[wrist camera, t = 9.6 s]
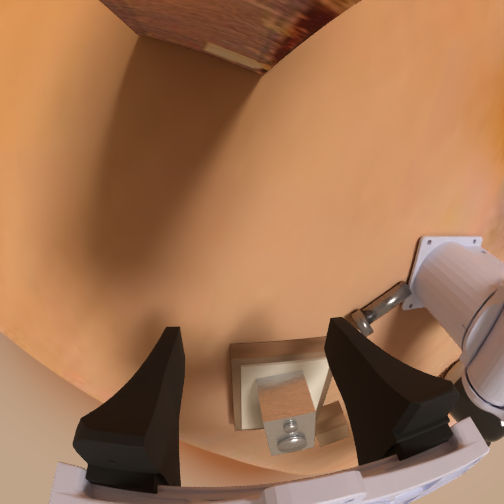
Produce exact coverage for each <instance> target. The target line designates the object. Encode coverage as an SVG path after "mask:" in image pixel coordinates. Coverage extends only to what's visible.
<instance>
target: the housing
mask: <svg viewBox="0 0 504 504" xmlns="http://www.w3.org/2000/svg"><path fill="white" fill-rule="evenodd" d="M256 383H257V389H258V395H259V401H260V407H261V413H262V419H263V424H264V429H265V433H266V437H267V441H268V445H269V449H270V453H271V456H274V455H280V454H285V453H290V452H295V451H300V450H304V449H309V448H313V447H314V437H315V417H316V411H315V408H314V404H313V401H312V398H311V395H310V392H309V389H308V385H307V382H306V379H305V376H304V373H303V370H298V371H293V372H288V373H283V374H278V375H273V376H268V377H262V378H256Z"/></svg>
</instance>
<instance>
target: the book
mask: <svg viewBox="0 0 504 504" xmlns="http://www.w3.org/2000/svg"><path fill="white" fill-rule="evenodd" d="M100 1H101V2H102V3H103V4H104V5H105V6H106V7H108V8H109V9H110V10H111V11H112V12H113V13H114V14H115V15H117V16H118V17H119V18H120V19H121V20H122V21H123V22H124V23H125V24H126V25H128V26H129V27H130V28H131V29H132V30H133V31H134V32H135V33H136V34H137V35H142V36H146V37H150V38H154V39H158V40H162V41H166V42H169V43H173V44H177V45H180V46H183V47H187V48H190V49H193V50H196V51H199V52H202V53H205V54H208V55H211V56H214V57H217V58H220V59H223V60H225V61H228V62H231V63H233V64H236V65H238V66H241V67H244V68H246V69H248V70H251V71H253V72H256V73H258V74H260V75H264V74H265V73H266V72H268V71H269V70H270V69H271V68H272V67H273V66H275V65H276V64H277V63H278V62H279V61H280V60H282V59H283V58H284V57H285V56H286V55H288V54H289V53H290V52H291V51H292V50H294V49H295V48H296V47H297V46H299V45H300V44H301V43H302V42H304V41H305V40H306V39H308V38H309V37H310V36H311V35H313V34H314V33H315V32H317V31H318V30H319V29H321V28H322V27H323V26H325V25H326V24H327V23H329V22H330V21H332V20H333V19H334V18H336V17H337V16H339V15H340V14H341V13H343V12H344V11H346V10H347V9H349V8H350V7H352V6H353V5H355V4H356V3H358V2H359V1H361V0H100Z"/></svg>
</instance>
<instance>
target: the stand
mask: <svg viewBox="0 0 504 504" xmlns="http://www.w3.org/2000/svg"><path fill="white" fill-rule="evenodd" d="M326 337H327V336H325V337H317V338H307V339H297V340H286V341H273V342H259V343H242V344H230V350H231V373H232V394H233V413H234V426H235V431H242V430H256V429H264V424H263V419H262V413H261V407H260V401H259V395H258V389H257V383H256V378H262V377H268V376H273V375H278V374H283V373H288V372H293V371H298V370H303V373H304V376H305V379H306V382H307V385H308V389H309V392H310V395H311V398H312V401H313V404H314V408H315V411H316V417H315V422H317V420H318V417H319V415H320V412H321V409H322V406H323V403H324V400H325V397H326V394H327V391H328V388H329V385H330V381H331V378H332V372H331V370H330V368H329V365H328V362H327V358H326V354H325V351H324V346H325V341H326Z"/></svg>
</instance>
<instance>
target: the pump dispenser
mask: <svg viewBox="0 0 504 504" xmlns="http://www.w3.org/2000/svg"><path fill="white" fill-rule="evenodd" d="M464 367H465V366H464V365H463V363H462V362H461V361H458V362H457V363H456V364H455V365H454V366H453V367H452V368H451V369H450V370H449V371H448V373H447V374H446V376H445V378H444V379H446V380H450V381H452V383H453V384H454V386H455V387H456V389H457V390H458V392H459V394H460V396H459V399H458V401H457V403H456V404H455V406H454V407H453V408H452V410H451V411H450V412H449V414H450V415H451V416H452V417H453V418H454V419H455V420H456V421H457V422H460V421H462V420H463V419H465V418H467V417H470V418H471V419H472V421H473V422H474V424H475V426H476V427H477V429H478V431H479V432H480V434H481V436H482V437H483V439H484V441H485V442H486V444H487V446H488V447H489V446H490V444H491V442H494V441H497V440H499V439H501V438H502V437H503V436H504V422H503V421H502V420H501V419H500V418H498V417H497V416H495V415H494V414H492V413H490V412H487V411H484V410H482V409H480V408H479V407H477V406H476V405H475V404H474V403H473V402H472V401H471V400H470V398H469V397H468V395H467V393H466V391H465V389H464V386H463V383H462V371H463V369H464Z"/></svg>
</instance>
